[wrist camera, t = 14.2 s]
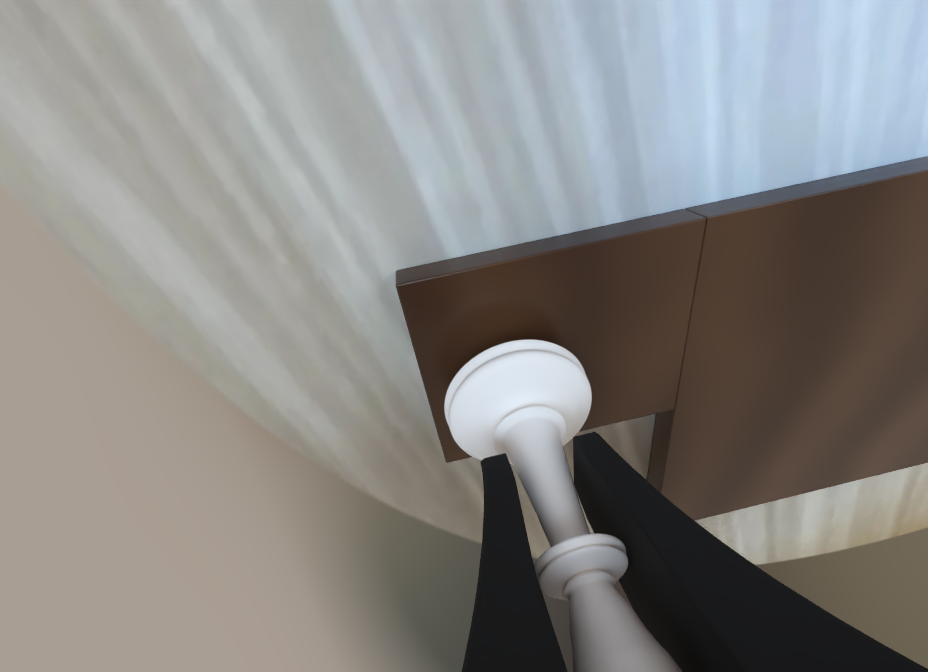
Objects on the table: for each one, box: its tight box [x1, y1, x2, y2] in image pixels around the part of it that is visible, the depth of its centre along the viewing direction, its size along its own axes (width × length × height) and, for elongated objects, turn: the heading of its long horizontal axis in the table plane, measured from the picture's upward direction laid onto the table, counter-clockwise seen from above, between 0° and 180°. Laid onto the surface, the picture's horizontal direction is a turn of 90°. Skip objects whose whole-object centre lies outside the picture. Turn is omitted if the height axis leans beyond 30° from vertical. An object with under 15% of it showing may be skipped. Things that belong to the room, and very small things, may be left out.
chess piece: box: [444, 340, 682, 672], centre depth 9 cm, size 5×5×10 cm
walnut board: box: [396, 157, 928, 521], centre depth 18 cm, size 32×18×1 cm, turn 99°
